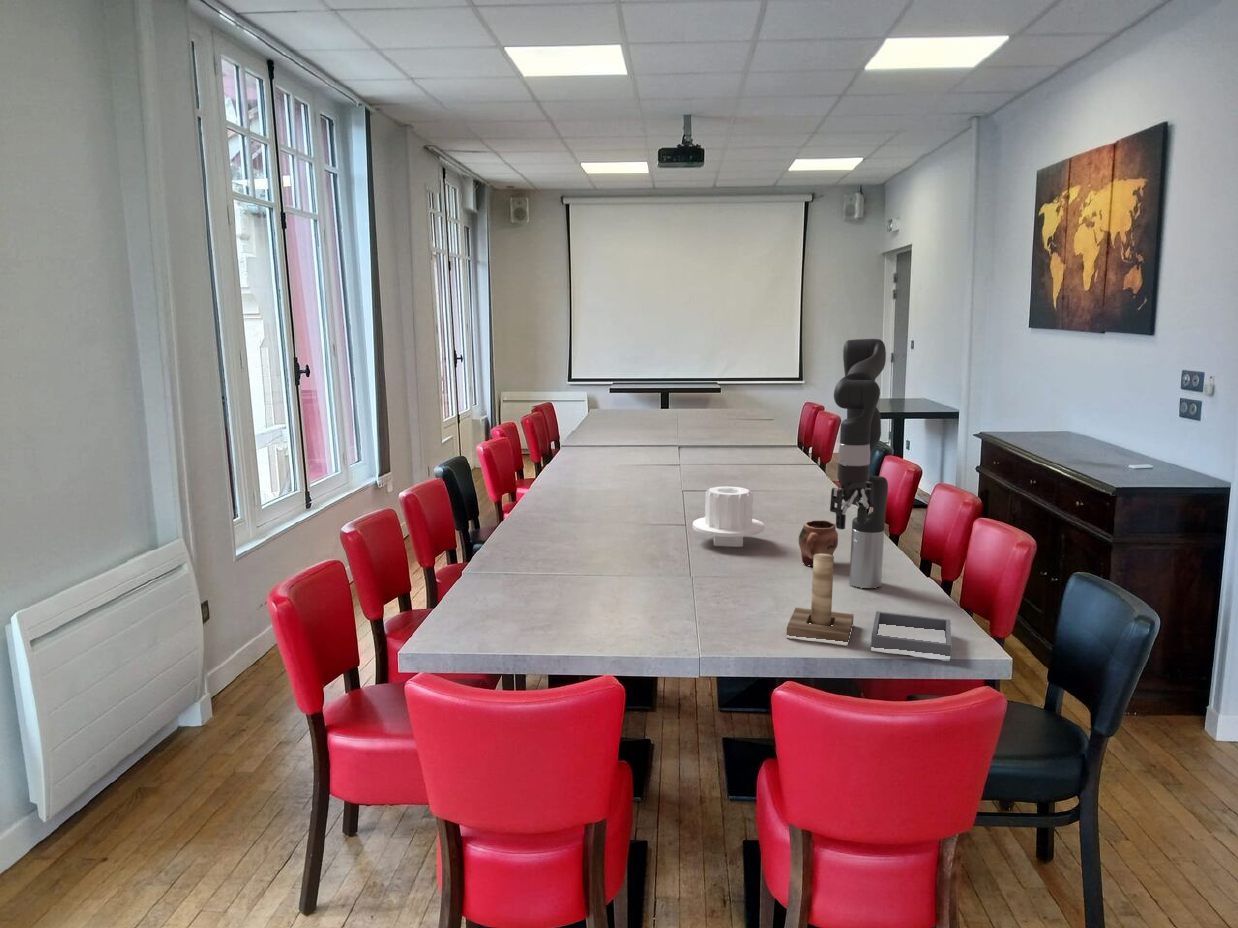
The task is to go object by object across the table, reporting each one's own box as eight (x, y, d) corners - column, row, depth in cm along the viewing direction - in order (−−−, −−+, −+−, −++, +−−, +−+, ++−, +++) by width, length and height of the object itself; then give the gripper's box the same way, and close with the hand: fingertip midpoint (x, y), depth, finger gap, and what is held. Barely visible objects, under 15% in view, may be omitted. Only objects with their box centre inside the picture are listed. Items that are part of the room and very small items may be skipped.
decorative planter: (829, 576, 265) (831, 533, 262) (790, 571, 270) (792, 528, 267) (842, 559, 282) (844, 518, 280) (805, 555, 288) (807, 514, 285)
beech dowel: (811, 626, 223) (814, 552, 219) (831, 629, 221) (834, 554, 218) (809, 633, 218) (812, 558, 215) (829, 636, 217) (832, 560, 213)
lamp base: (761, 534, 314) (763, 483, 310) (766, 553, 289) (767, 499, 286) (692, 532, 316) (693, 482, 313) (691, 551, 292) (692, 497, 288)
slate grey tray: (875, 625, 224) (876, 611, 223) (949, 634, 218) (950, 619, 217) (870, 651, 207) (871, 635, 206) (950, 661, 201) (951, 645, 200)
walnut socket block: (795, 618, 229) (795, 607, 229) (853, 625, 224) (853, 614, 224) (786, 638, 215) (786, 626, 215) (847, 646, 210) (848, 634, 210)
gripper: (858, 456, 217) (855, 518, 220) (823, 463, 208) (820, 527, 211) (884, 460, 211) (881, 524, 214) (848, 467, 202) (846, 533, 205)
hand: (851, 525), depth 213 cm, fingers open, 8 cm apart
